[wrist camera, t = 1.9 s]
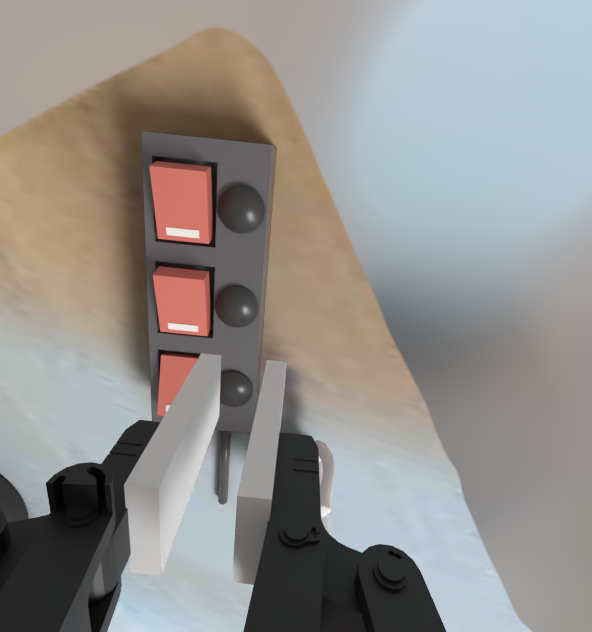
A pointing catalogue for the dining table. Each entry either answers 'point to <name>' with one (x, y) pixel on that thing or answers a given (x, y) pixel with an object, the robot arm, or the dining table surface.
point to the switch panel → (218, 271)
